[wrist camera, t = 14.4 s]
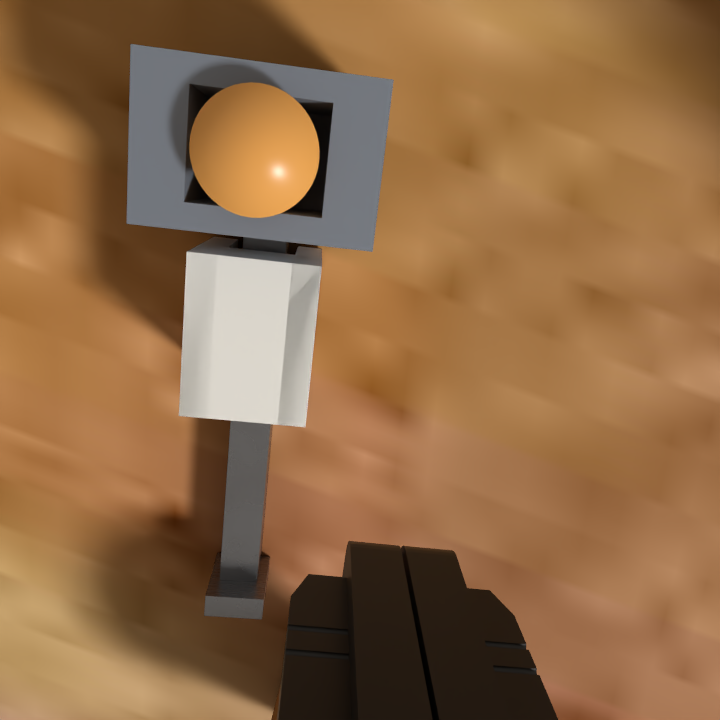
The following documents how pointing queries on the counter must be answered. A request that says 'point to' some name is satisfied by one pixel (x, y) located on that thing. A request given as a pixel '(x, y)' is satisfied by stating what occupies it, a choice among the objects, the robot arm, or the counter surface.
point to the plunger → (254, 150)
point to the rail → (244, 511)
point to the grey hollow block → (327, 112)
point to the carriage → (248, 333)
